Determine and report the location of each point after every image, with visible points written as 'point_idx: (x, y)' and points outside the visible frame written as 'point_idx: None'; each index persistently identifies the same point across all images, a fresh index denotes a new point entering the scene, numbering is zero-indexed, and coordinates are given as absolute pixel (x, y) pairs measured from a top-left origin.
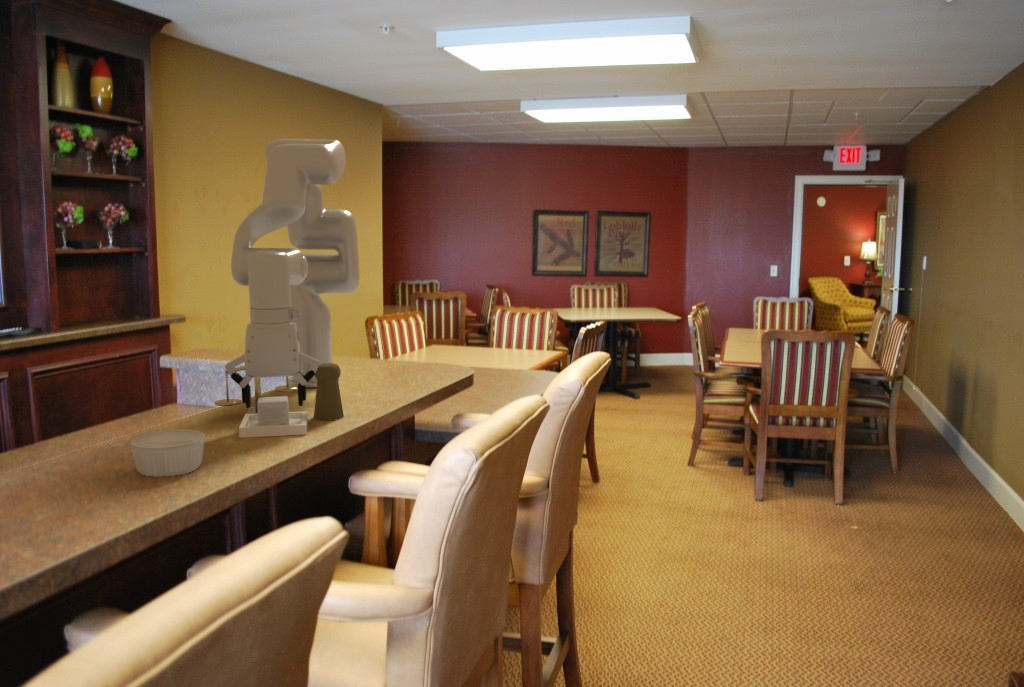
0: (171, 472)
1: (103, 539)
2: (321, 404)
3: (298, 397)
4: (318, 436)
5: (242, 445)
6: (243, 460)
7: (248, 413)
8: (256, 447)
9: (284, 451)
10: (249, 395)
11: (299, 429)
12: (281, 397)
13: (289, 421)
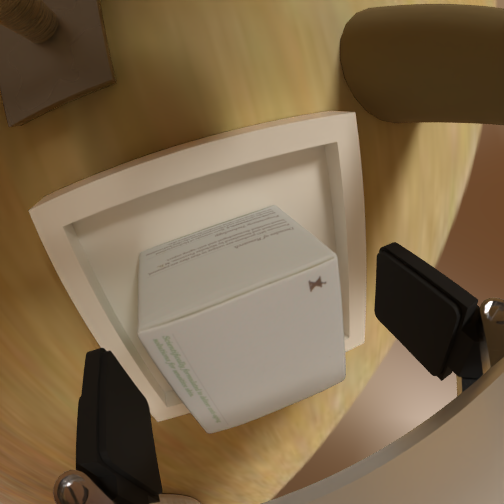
0: None
1: None
2: (426, 115)
3: (400, 339)
4: (375, 329)
5: (204, 435)
6: (249, 474)
7: (15, 122)
8: (244, 435)
9: (309, 431)
10: (150, 450)
11: None
12: (308, 317)
13: None
